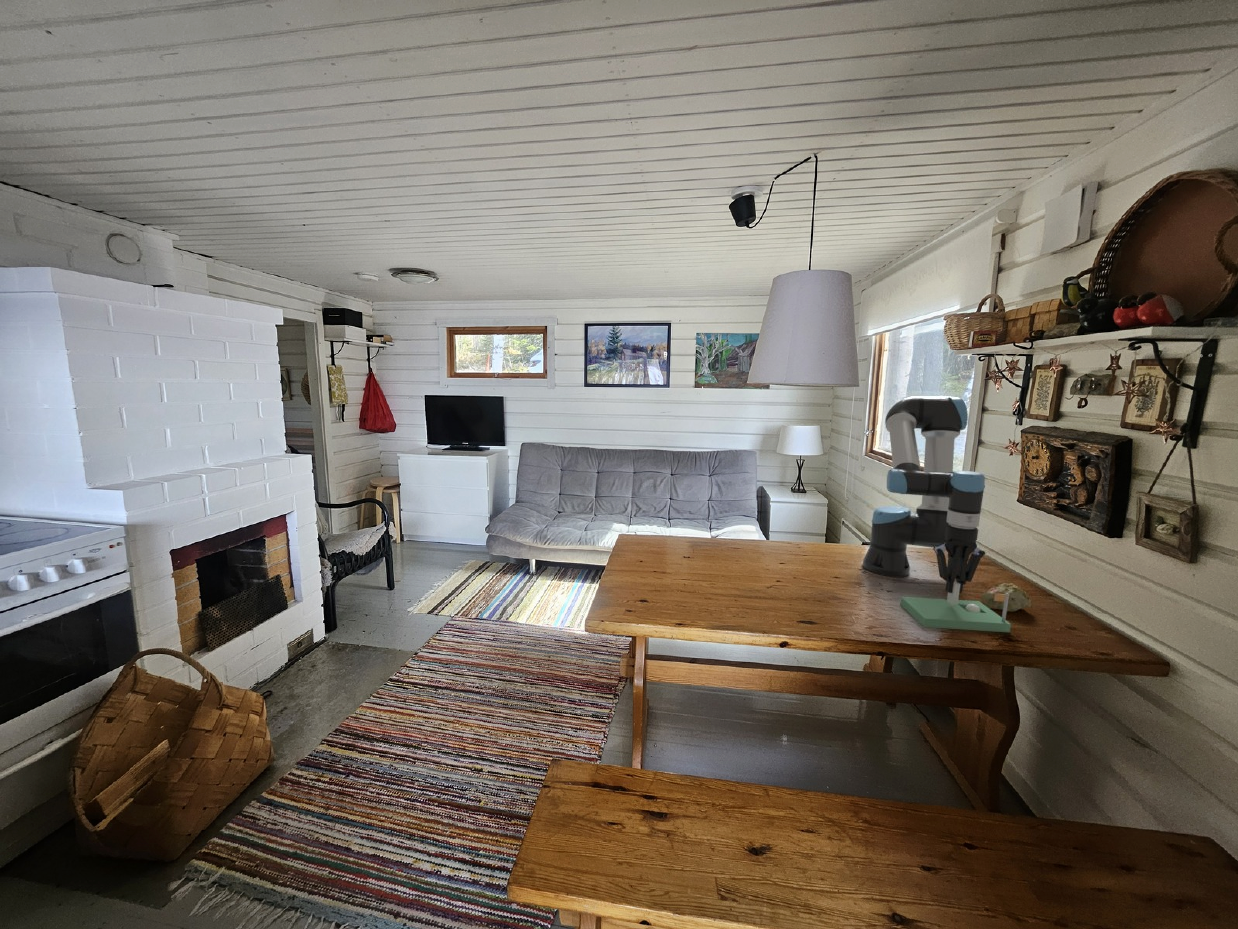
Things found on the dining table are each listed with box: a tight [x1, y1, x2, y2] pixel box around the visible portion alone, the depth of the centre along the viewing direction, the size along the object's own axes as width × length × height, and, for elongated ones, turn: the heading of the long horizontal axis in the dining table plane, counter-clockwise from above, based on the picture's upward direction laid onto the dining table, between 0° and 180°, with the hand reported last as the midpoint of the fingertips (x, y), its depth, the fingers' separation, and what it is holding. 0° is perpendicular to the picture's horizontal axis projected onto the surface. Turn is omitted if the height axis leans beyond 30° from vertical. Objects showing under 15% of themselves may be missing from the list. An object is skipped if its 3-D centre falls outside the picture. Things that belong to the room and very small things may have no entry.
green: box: [900, 593, 1012, 633], centre depth 134 cm, size 14×22×10 cm, turn 83°
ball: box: [965, 604, 980, 613], centre depth 136 cm, size 4×4×4 cm
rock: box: [980, 582, 1033, 612], centre depth 142 cm, size 12×9×10 cm
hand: (952, 602), depth 136 cm, fingers closed
